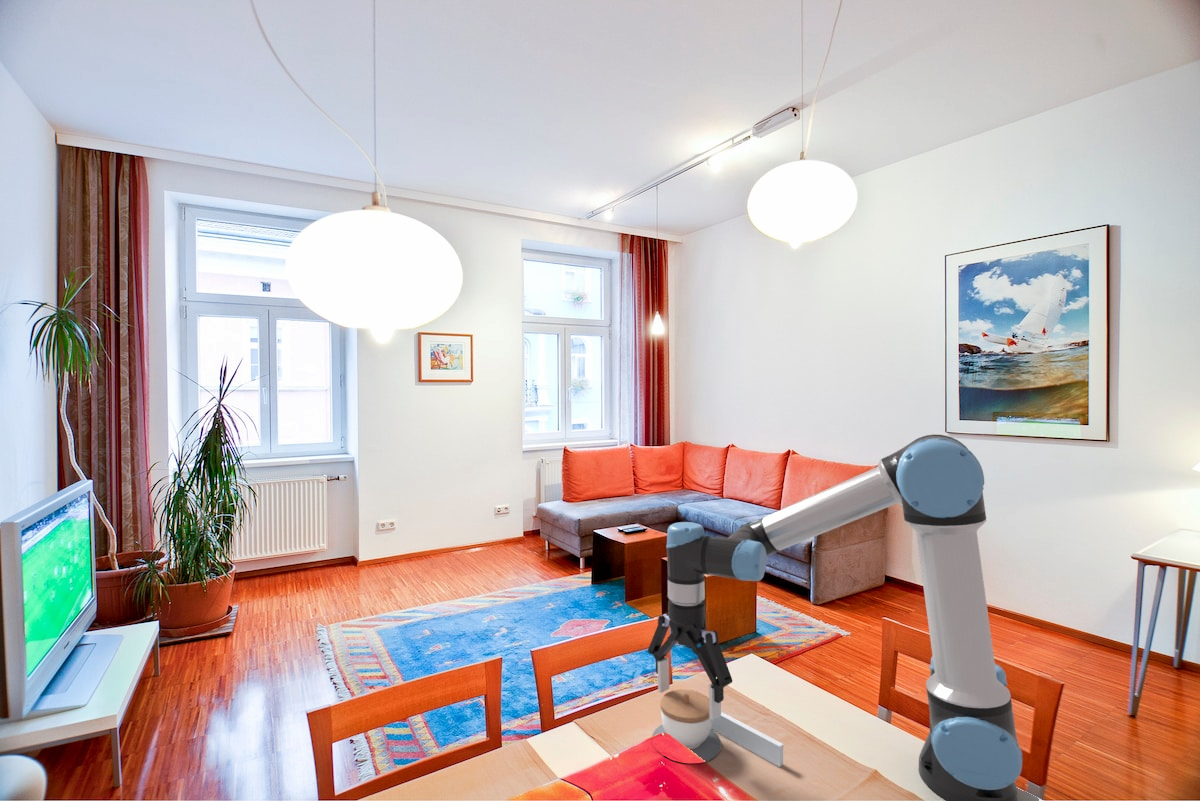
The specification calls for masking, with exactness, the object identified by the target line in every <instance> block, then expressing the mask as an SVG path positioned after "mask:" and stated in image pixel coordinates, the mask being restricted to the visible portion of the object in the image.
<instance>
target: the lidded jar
mask: <svg viewBox="0 0 1200 801" xmlns="http://www.w3.org/2000/svg"><path fill="white" fill-rule="evenodd" d="M659 702H660V718H661V723H662V724H663V728H664V730H665V733H667V734H669V735H671V736H672V737H673V738H675V739H676V740H678V741H679V742H681V743H682V744H683V745H685V746H686V747H687V748H689V749H695V748H697V747H699V746H700V745H701V743H703V742H704V741H705V740H706V738H707V737H708V735H709V733H710V730H711V726H712V719H710V717H709V696H707V695H705V694H703V693H702V692H699V691H697V690H696V691H695V690H691V689H674V690H670V691H668V692H666V693H665V694H664V695H663V696H662V697H661V698H660V701H659ZM662 724H661V725H662Z"/></svg>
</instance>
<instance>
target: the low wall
mask: <svg viewBox="0 0 1200 801" xmlns="http://www.w3.org/2000/svg"><path fill="white" fill-rule="evenodd" d="M711 729H712V730H713V731H714V732H715V733H718V734H720V736H721V735H722V736H723V737H725V738H727V739H728V740H730V741H732V742H734V743H735V744H738V745H739V746H741V747H742V748H744V749H746V750H748V751H749V752H752V753H753V754H755V755H757V756H759V757H761V758H762V759H764V760H766V761H768V762H770V763H772V764H773V765H774V766H777V767H778V768H781V767H782V766H783V765H784V743H782V742H780V741H778V740H776V739H774V738H772V737H770V736H769V735H766V734H765V733H763V732H761V731H759V730H757V729H755V728H753V727H751V726H749V725H747V724H746V723H744V722H742V721H740V720H738V719H736V718H734V717H732V716H730V715H729V714H728V713H727V714H726V713H725V712H723V711H721V715H720V716H718V717H717V718H715V719H713V720H712V726H711Z"/></svg>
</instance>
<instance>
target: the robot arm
mask: <svg viewBox="0 0 1200 801" xmlns="http://www.w3.org/2000/svg"><path fill="white" fill-rule="evenodd" d="M984 485H985V474H984V471H983V467H982V465H981V463H980V461H979V460H978V458H977V457H976V456H975V454H974V453H973V452H972V451H971V450H969V448H968V447H967V446H966V445H965V444H963V442H961V441H960V440H958V439H955V438H954V437H951V436H948V435H943V434H927V435H923V436H921V437H918V438H915V439H914V440H913V441H911V442H909V443H908V444H906V445H905V446H903V447H902V448H900V449H898V450H897V451H896V452H893V453H891V454H889V455H887V456H885V457H883V458H880V459H879V461H878V464H877V466H876V467H874V468H872V469H869V470H867V471H865V472H863V473H860V474H857V475H856V476H854V477H853V476H852V477H851V478H849V479H846V480H844V481H841V482H840V483H836V484H835V485H833V486H831V487H829V488H827V489H824V490H822V491H820V492H818V493H815V494H813V495H811V496H810V495H809V497H805V498H804V499H801V500H799V501H797V502H795V503H792V504H791V505H789V506H785V507H784V508H783V507H782V508H781V509H779V510H777V511H775V512H772V513H770V514H768V515H766V516H763V517H762V518H759V519H757V520H754V521H748V522H745V523H744V524H742V525H740V526H739V528H737V530H736V531H734V532H733V533H731V534H730V535H729V536H728V537H718V536H712V535H706V534H705V531H704V530H705V529H704V527H703V525H702V524H700V523H696V522H690V521H680V522H675V523H672V524H670V525H669V526H668V528H667V535H666V546H665V547H666V556H667V557H666V561H667V598H668V601H667V612H666V613H664V614H662V615H659V616H658V619H657V620H658V621H657V626H656V629H655V632H654V634H653V636H652V639H651V642H650V644H649V646H648V649H647V653H648V654H649V655H652V656H653V658H654V660H655V673H656V674H657V690H658V691H657V692H658V693H660V694H662V693H664V692H665V691H668V690H669V689H670V661H669V660H670V659H669V658H668V657H667V656H668V654H669V652H670V651H672V650H673V648H674V647H675V645H677V643H678V645H680V646H683V647H684V646H685V647H686V648H688V649H691V651H692V653H693V654H694V655H696V656H697V658H698V660H699V662H700V664H701V666H702V669H704V671H705V673H706V675H707V677H708V678H709V680H710V682H711V684H708V698H709V717H710V719H712V720H713V719H715V718H717V717H718V716H720V715H721V712H722V702H723V701H724V698H725V697H724V695H725V694H724V688H725V687H727V686H729V685H730V684H732V683H733V678H732V676H731V673H730V670H729V668H728V664H727V662H726V659H725V656H724V653H723V650H722V648H721V644H720V643H719V634H718V631H717V630H711V631H709V630H706V629H705V626H704V623H705V620H706V602H705V599H706V597H705V592H706V591H705V578H706V577H705V575H707V576H716V577H720V578H721V577H722V578H727V579H734V580H739V581H743V582H746V581H749V582H750V581H751V582H758V581H759V582H760V581H761V580H762V579H763V578H764V576H765V572H766V568H767V557H769V556H771V555H774V554H776V553H778V552H780V551H783V550H785V549H787V548H790V547H792V546H794V545H798V544H799V543H803V542H805V541H807V540H810V539H812V538H815V537H817V536H819V535H822V534H824V533H827V532H831V531H833V530H834V529H837V528H839V527H841V526H845V525H846V524H850V523H852V522H855V521H857V520H859V519H862V518H864V517H867V516H870V515H872V514H874V513H876V512H877V513H878V512H879V511H881V510H882V511H883V510H884V509H887V508H889V507H892V506H894V505H896V504H902V513H903V519H904V520H903V521H904V522H905V524H907V525H908V526H909V527H910V528H912V529H913V530H914V531H915V534H916V541H917V550H918V556H919V563H920V570H921V572H920V573H921V578H922V580H921V581H922V586H923V594H924V600H925V603H924V604H925V609H926V615H927V616H926V617H927V623H928V624H927V625H928V632H929V639H930V646H931V654H932V656H931V658H930V666H929V667H928V669H929V670H930V672H929V673H930V676H929V677H928V679H926V682H925V685H926V686H925V687H926V693H927V701H928V702H927V703H928V709H929V732H928V735H927V737H926V739H925V742H924V744H923V746H922V748H921V750H920V753H919V756H918V774H919V776H920V779H921V780H922V781H923V783H924V784H925V785H926V786H927V787H928V788H929V789H930V790H932V792H934V793H935V794H937V796H939V797H941V798H943V799H944V800H946V801H1018V800H1017V799H1018V788H1017V784H1016V781H1017V780H1018V779H1019V777H1020V775H1021V773H1022V769H1023V758H1024V757H1023V751H1022V749H1021V747H1020V745H1019V742H1018V737H1017V732H1016V724H1015V717H1014V711H1013V704H1012V696H1011V691H1010V690H1009V688H1008V687H1007V686H1008V684H1009V683H1008V682H1007V675H1006V674H1007V673H1006V672H1005V670H1004V669H1003V668H1002V667H1001V666H1000V665H998V664H997V663H995V655H994V648H993V640H992V634H991V626H990V620H989V618H990V617H989V612H988V611H989V610H988V605H987V596H986V588H985V582H984V574H983V568H982V560H981V554H980V545H979V540H978V531H979V529H980V528H981V527H982V526H983V525H985V523H986V522H987V514H986V508H985V499H984V492H983V491H984ZM669 628H670V630H671V633H670V635H669V636H667V639H666V640H665V642H664V639H665V638H666V635H667V633H668V630H669ZM699 645H700V646H699Z"/></svg>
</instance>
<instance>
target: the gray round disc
mask: <svg viewBox="0 0 1200 801" xmlns="http://www.w3.org/2000/svg"><path fill="white" fill-rule="evenodd" d="M662 732H665V730H664V728H663V724H661V725H659V726H657V727H656V728H655V730H653V733H652V735H651V737H652V736H654V735H656V734H659V733H662ZM721 748H722V742H721V739H720V737H719V735H718V734H717V732H716V731H714V730H712V729H711V730H710V733H709V735H708V737H707V738H706V740H705V741H704V742H703V743H701V745H700V746H699V747H697V748H695V749H690V750H692V751H693V752H694V753H696V754H697V755H698V756H699V757H701V758H702V759H703V760H705V761H706V762H705V763H708V762H709V761H712V760H713V759H715V758H716V757H717V756H718V755H719V754H720V752H721Z"/></svg>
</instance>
